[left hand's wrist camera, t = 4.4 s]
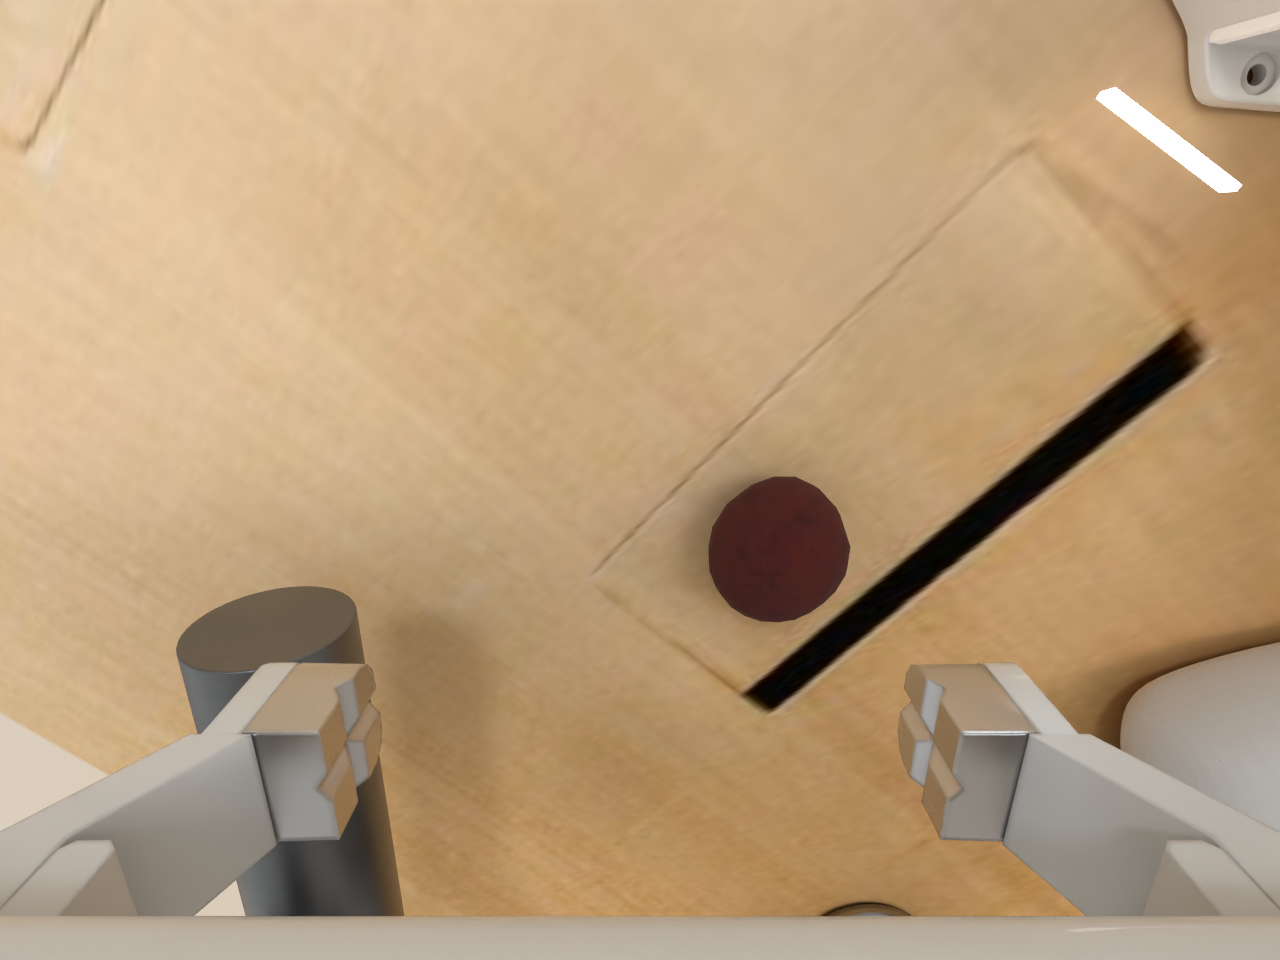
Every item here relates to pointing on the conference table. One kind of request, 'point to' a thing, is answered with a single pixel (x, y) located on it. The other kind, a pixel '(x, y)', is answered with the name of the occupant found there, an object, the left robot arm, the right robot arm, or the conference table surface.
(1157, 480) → the conference table surface
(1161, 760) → the white slotted shell
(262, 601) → the rod
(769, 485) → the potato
